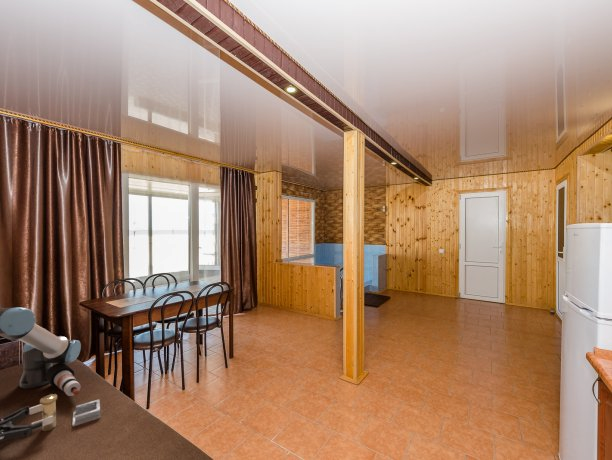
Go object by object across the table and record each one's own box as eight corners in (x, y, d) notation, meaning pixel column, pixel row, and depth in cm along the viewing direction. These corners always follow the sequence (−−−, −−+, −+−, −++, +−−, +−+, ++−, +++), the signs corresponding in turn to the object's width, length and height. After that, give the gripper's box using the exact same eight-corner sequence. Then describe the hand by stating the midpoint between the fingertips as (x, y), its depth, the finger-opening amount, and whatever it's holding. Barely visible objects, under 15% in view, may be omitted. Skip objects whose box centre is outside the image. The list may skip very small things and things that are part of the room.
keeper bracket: (73, 413, 138) (73, 406, 138) (99, 405, 144) (99, 398, 143) (72, 426, 129) (72, 419, 129) (100, 417, 135) (100, 410, 135)
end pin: (41, 426, 129) (40, 396, 129) (58, 421, 132) (57, 392, 132) (39, 433, 125) (39, 403, 124) (57, 428, 128) (56, 398, 127)
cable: (71, 409, 142) (58, 395, 138) (52, 386, 162) (41, 373, 158) (93, 391, 148) (81, 377, 145) (72, 371, 169) (62, 358, 165)
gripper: (-21, 430, 122) (47, 407, 137) (-24, 465, 105) (54, 434, 120) (-21, 412, 122) (47, 391, 137) (-25, 445, 104) (54, 416, 120)
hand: (51, 411), depth 129 cm, fingers open, 13 cm apart
